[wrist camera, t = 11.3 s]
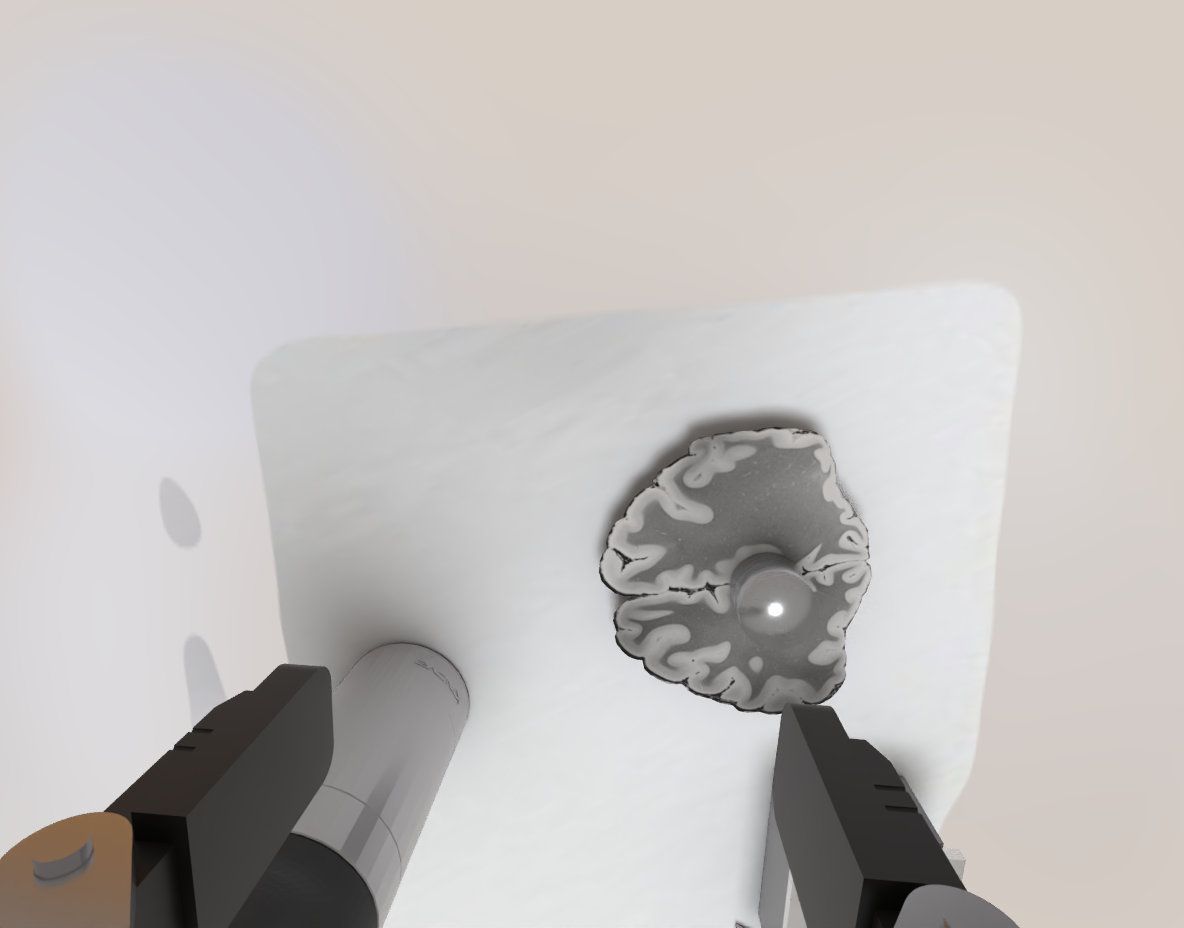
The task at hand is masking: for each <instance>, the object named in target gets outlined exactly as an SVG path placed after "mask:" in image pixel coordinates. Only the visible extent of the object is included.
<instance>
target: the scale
mask: <svg viewBox="0 0 1184 928" xmlns="http://www.w3.org/2000/svg"><path fill="white" fill-rule="evenodd" d="M774 769H775V768H774ZM900 779H901V780H902V782H903V784H904V786H905V790H906V792H909V794H910V796H911V797H912V799H913V801H914V802H915V804H916V806H917V807H918V813H920V814H922V816H923V818H924V819H925V821H926V823H927V824H928V826H929V828H930V829H931V831H932V833H933V834H934V836H935V838H936V839H937V841H938V843H939V845H940V846H941V848H943V842H942V840H941V838H940V837H939V835H938V833H937V832H936V830H935V828H934V827H933V825H932V823H931V822H930V820H929V818H928V817H927V815H926V813H925V812H924V810H923V808H922V807H921V805H920V803H919V802H918V800H917V798H916V797H915V795H914V793H913V792H912V790H911V788H910V787H909V785H908V783H907V782H906V780H905V778H904V777H900ZM789 870H790V868H789V865H788V861H787V858H786V854H785V851H784V848H783V844H782V841H781V837H780V834H779V830H778V827H777V824H776V820H775V814H774V807H773V786H772V795H771V805H770V814H769V823H768V832H767V841H766V850H765V859H764V868H763V877H762V886H761V895H760V905H759V919H760V923H761V928H782V927H783V919H784V911H785V903H786V894H787V886H788V878H789Z"/></svg>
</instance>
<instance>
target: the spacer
mask: <svg viewBox="0 0 1184 928" xmlns="http://www.w3.org/2000/svg"><path fill="white" fill-rule="evenodd" d="M730 594H731V597H732V600H733V603H734V606H735V609H736V612H737V615H738V618H739V621H740V624H741V626H742V629H743V631H744V632H745V634H746V635H747V636H748V638H749V639H750V640H752V641H753V642H754V643H756V644H757V645H759V646H761V647H763V648H766V649H771V650H787V649H791V648H794V647H797V646H799V645H801V644H802V643H804V642H805V641H806V640H808V639H809V638H810V637H811V636H812V634H813V633H814V632H815V630H816V628H817V626H818V623H819V620H820V605H819V601H818V599H817V597H816V595H815V593H814V592H813V590H812V589H811V587H810V586H809V584H808V583H807V581H806V580H805V578H804V577H803V575H802V574H801V572H800V571H799V569H798V568H797V566H796V565H795V564H794V563H793V562H792V561H791V560H790V559H788V558H787V557H785V556H783V555H780V554H777V553H772V552H762V553H757V554H754V555H751V556H749V557H747V558H746V559H744V560H743V561H742V562H741V563H740V564H738V566H737V567H736V568H735V570H734V572H733V574H732V576H731V579H730Z"/></svg>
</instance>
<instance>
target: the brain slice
mask: <svg viewBox="0 0 1184 928" xmlns="http://www.w3.org/2000/svg"><path fill="white" fill-rule="evenodd" d="M606 544H607V549H606V550H605V552H604V553H603V555H602V557H601V560H600V567H599V573H600V577H601V580H602V582H603V583H604V584H605V585H606V586H607V587H608V588H609V589H610V590H612V591H613V592H614V593H616V594H619V595H622V596H633V597H632V598H630V599H628V600H627V601H625V602H624V603H623V604H622V605H621V606H620V607H619V608H618V609H617V610H616V612H615V613H614V620H613V621H614V625H615V628H616V631H617V632H616V635H615V639H616V643H617V645H618V646H619V647H620V649H621V650H622V651H623V652H624V653H625V654H626V655H627V656H629V657H631V658H634V659H637V660H643V665H644V669H645V670H646V671H647V672H648V673H649V674H650V675H652V676H654V677H655V678H657V679H659V680H661V681H663V682H665V683H667V684H683V685H684V686H685V687H686V688H687V690H689V691H690V692H692V693H693V694H695V695H698V696H702V697H706V698H710V699H712V700H715V701H717V702H719V703H724V704H728V705H733V706H734V707H735V708H736V709H737V710H738V711H742V712H747V713H749V712H762V713H766V714H775V715H777V714H781V713H782V711H783V707H784V705H785V704H786V703H795V704H809V705H818V704H821V703H823V702H825V701H826V700H828V699H830V698H831V697H832V696H833V695H834V694H835V693H836V692H837V691H838V690H839V688H840V687H841V686H842V684H843V682H844V680H845V677H846V672H845V666H846V653H845V635H846V629H847V627H848V626H849V624H850V622H851V621H852V619H853V617H854V615H855V614H856V612H857V610H858V608H859V605H860V603H861V600H862V596H863V595H864V594H865V593H866V591H867V588H868V586H869V583H870V580H871V577H872V574H871V566H870V565H869V564H868V563H867V562H865V561H866V560H867V559H869V558H870V555H869V542H868V530H867V528H866V527H865V525H864V523H863V522H862V521H861V520H860V519H859V518H858V517H857V515H856V513H855V511H854V509H853V508H852V506H851V505H850V503H849V501H848V500H847V499H846V498H845V497H843V495H842V493H841V491H840V489H839V487H838V485H837V482H836V464H835V461H834V459H833V457H832V456H831V451H830V446H829V445H828V443H827V442H826V440H825V438H824V437H822V436H821V435H819V434H818V433H816V432H814V431H810V430H800V429H794V428H780V427H771V428H762V429H760V430H753V431H738V432H729V433H722V434H715V435H713V436H712V437H702V438H698V439H697V440H695V441H694V442H692V443H691V444H690V446H689V448H688V454H687V455H684V456H682V457H680V458H679V459H677V460H676V461H674V462H673V463H672V464H670V465H669V466H667V467H665V468H664V469H662V470H661V471H659V472H658V474H657V477H656V478H655V479H654V480H653V485H652V486H650V487H649V488H646V489H644V490H642V491H641V492H640V493H639V494H637V495H636V496H635V497H634V499H633V500H632V502H631V503H630V504H629V506H628V507H627V509H626V512H625V514H624V517H623V518H622V519H620V520H618V521H617V522H615V524H614V525H613V527H612V529H611V531H610V533H609V535H608V539H607V542H606ZM762 552H772V553H777V554H780V555H783V556H785V557H787V558H788V559H790V560H791V561H792V562H793V563H794V564H795V565H796V566H797V568H798V569H799V571H800V572H801V574H802V575H803V577H804V578H805V580H806V581H807V583H808V584H809V586H810V587H811V589H812V590H813V592H814V593H815V595H816V597H817V599H818V601H819V605H820V620H819V623H818V626H817V628H816V630H815V632H814V633H813V634H812V636H811V637H810V638H809V639H808V640H806V641H805V642H804V643H802V644H801V645H799V646H797V647H794V648H791V649H787V650H771V649H766V648H763V647H761V646H759V645H757V644H756V643H754V642H753V641H752V640H750V639H749V638H748V636H747V635H746V634H745V632H744V631H743V629H742V626H741V624H740V621H739V618H738V615H737V612H736V609H735V606H734V603H733V600H732V597H731V594H730V579H731V576H732V574H733V572H734V570H735V568H736V567H737V566H738V564H740V563H741V562H742V561H743V560H744V559H746V558H747V557H749V556H751V555H754V554H757V553H762Z"/></svg>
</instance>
